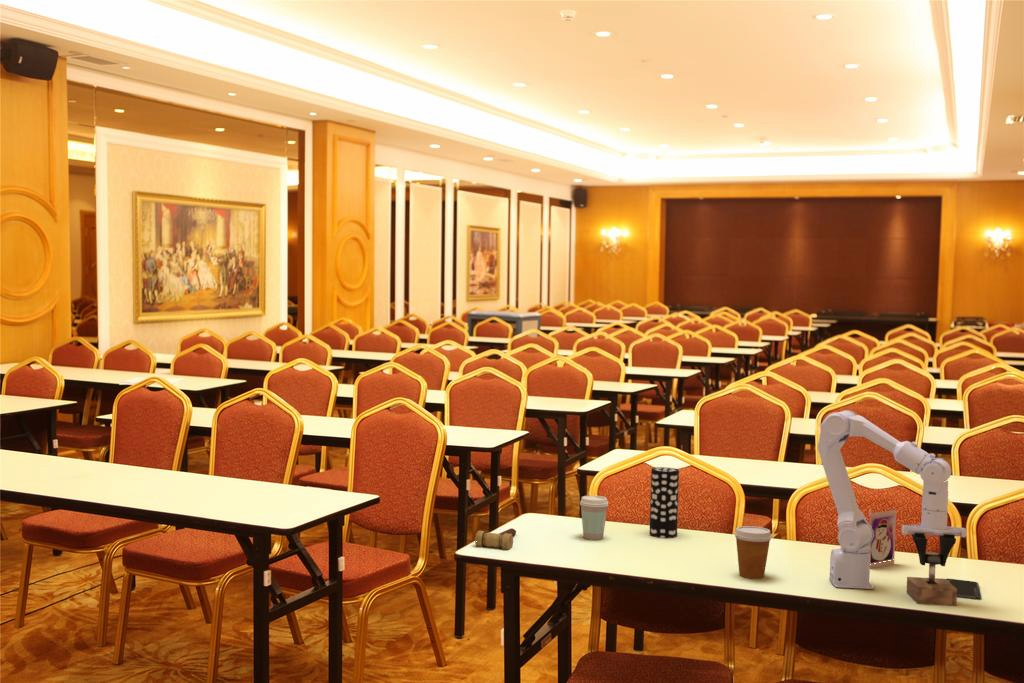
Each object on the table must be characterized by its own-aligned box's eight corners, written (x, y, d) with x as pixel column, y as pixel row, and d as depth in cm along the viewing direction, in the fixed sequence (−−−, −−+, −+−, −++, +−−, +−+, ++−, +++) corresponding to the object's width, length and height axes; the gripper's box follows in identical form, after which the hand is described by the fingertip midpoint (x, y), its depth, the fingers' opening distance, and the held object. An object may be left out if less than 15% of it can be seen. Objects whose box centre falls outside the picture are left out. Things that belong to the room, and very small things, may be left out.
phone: (945, 593, 249) (945, 577, 262) (945, 597, 249) (945, 582, 262) (981, 597, 246) (978, 581, 259) (981, 601, 246) (978, 586, 259)
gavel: (499, 522, 306) (531, 525, 303) (499, 537, 306) (530, 540, 303) (475, 531, 286) (508, 535, 283) (474, 547, 286) (507, 551, 283)
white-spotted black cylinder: (676, 539, 302) (678, 472, 301) (648, 537, 304) (650, 471, 303) (677, 532, 310) (679, 468, 310) (650, 531, 312) (652, 466, 311)
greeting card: (870, 569, 272) (872, 514, 272) (847, 563, 278) (849, 509, 278) (896, 564, 278) (898, 510, 278) (873, 558, 285) (875, 505, 284)
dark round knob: (925, 585, 244) (926, 555, 243) (920, 580, 247) (921, 551, 247) (942, 586, 243) (943, 556, 243) (937, 581, 247) (938, 552, 247)
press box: (917, 603, 241) (917, 586, 241) (906, 592, 250) (907, 576, 250) (956, 605, 240) (957, 588, 240) (944, 594, 249) (944, 578, 249)
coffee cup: (608, 541, 297) (609, 501, 296) (579, 540, 297) (580, 500, 297) (606, 534, 305) (607, 495, 305) (578, 534, 306) (579, 494, 305)
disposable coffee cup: (744, 581, 257) (746, 534, 257) (726, 571, 266) (727, 526, 266) (777, 579, 260) (779, 533, 259) (758, 569, 269) (760, 525, 269)
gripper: (908, 511, 241) (906, 567, 242) (971, 513, 240) (969, 570, 240) (900, 505, 248) (897, 560, 249) (961, 507, 247) (959, 563, 247)
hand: (932, 564), depth 245 cm, fingers closed on dark round knob, 4 cm apart
